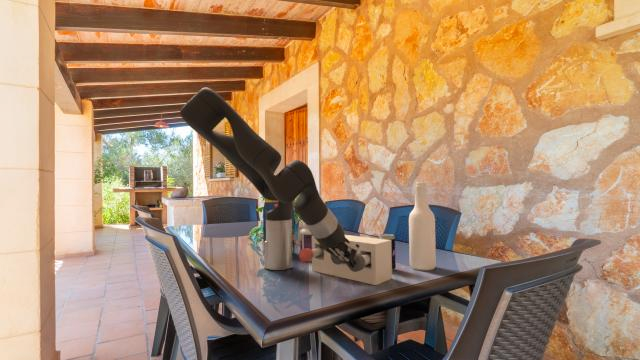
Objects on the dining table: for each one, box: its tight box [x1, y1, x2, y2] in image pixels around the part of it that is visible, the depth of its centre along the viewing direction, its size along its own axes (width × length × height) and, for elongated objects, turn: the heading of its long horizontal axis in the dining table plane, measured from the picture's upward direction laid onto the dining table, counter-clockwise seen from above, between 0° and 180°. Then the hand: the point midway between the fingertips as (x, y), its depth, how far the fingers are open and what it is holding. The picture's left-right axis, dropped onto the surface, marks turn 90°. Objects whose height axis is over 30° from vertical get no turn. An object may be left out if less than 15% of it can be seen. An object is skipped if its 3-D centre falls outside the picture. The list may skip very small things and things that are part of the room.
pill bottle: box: [299, 222, 313, 262], centre depth 136 cm, size 8×8×14 cm
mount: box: [311, 234, 393, 286], centre depth 113 cm, size 9×26×12 cm, turn 47°
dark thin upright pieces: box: [262, 198, 296, 255], centre depth 147 cm, size 6×12×25 cm, turn 114°
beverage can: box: [377, 233, 397, 272], centre depth 118 cm, size 6×6×12 cm
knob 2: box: [349, 253, 371, 272], centre depth 102 cm, size 9×5×5 cm, turn 137°
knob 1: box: [331, 255, 344, 265], centre depth 111 cm, size 9×5×5 cm, turn 137°
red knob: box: [298, 248, 324, 263], centre depth 114 cm, size 9×4×4 cm, turn 137°
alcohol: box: [408, 181, 437, 272], centre depth 121 cm, size 9×9×30 cm
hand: (352, 265), depth 98 cm, fingers closed
